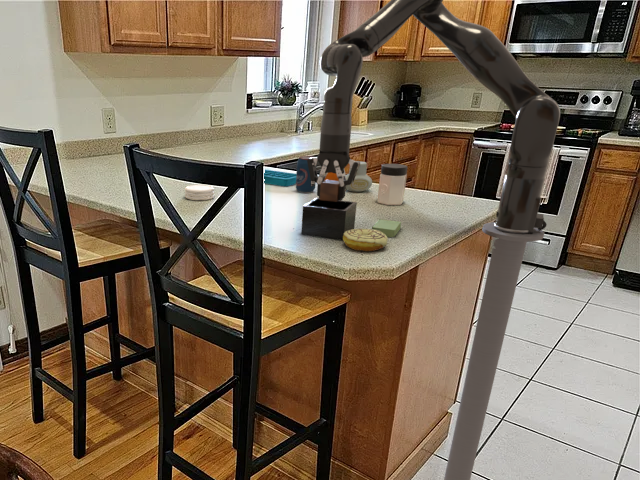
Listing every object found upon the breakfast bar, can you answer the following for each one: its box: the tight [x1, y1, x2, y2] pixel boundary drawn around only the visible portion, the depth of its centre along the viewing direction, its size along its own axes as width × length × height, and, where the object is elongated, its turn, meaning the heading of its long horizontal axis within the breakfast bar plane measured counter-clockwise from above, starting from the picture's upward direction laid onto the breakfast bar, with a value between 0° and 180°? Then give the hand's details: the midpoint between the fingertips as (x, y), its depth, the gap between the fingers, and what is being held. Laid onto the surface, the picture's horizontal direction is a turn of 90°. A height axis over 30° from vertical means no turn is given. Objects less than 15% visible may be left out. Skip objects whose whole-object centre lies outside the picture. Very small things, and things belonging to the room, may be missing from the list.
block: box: [320, 180, 340, 202], centre depth 138 cm, size 5×5×5 cm
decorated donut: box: [342, 228, 389, 252], centre depth 131 cm, size 10×11×4 cm
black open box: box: [301, 197, 358, 241], centre depth 141 cm, size 12×11×8 cm
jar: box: [377, 163, 408, 206], centre depth 172 cm, size 9×8×12 cm
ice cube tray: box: [263, 168, 297, 187], centre depth 205 cm, size 12×20×3 cm, turn 52°
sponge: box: [371, 218, 402, 238], centre depth 143 cm, size 9×6×2 cm, turn 154°
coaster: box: [184, 184, 215, 201], centre depth 179 cm, size 10×10×4 cm
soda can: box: [295, 155, 318, 194], centre depth 187 cm, size 7×7×12 cm
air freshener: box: [345, 161, 373, 193], centre depth 189 cm, size 11×8×10 cm
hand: (330, 198), depth 139 cm, fingers closed on block, 4 cm apart
